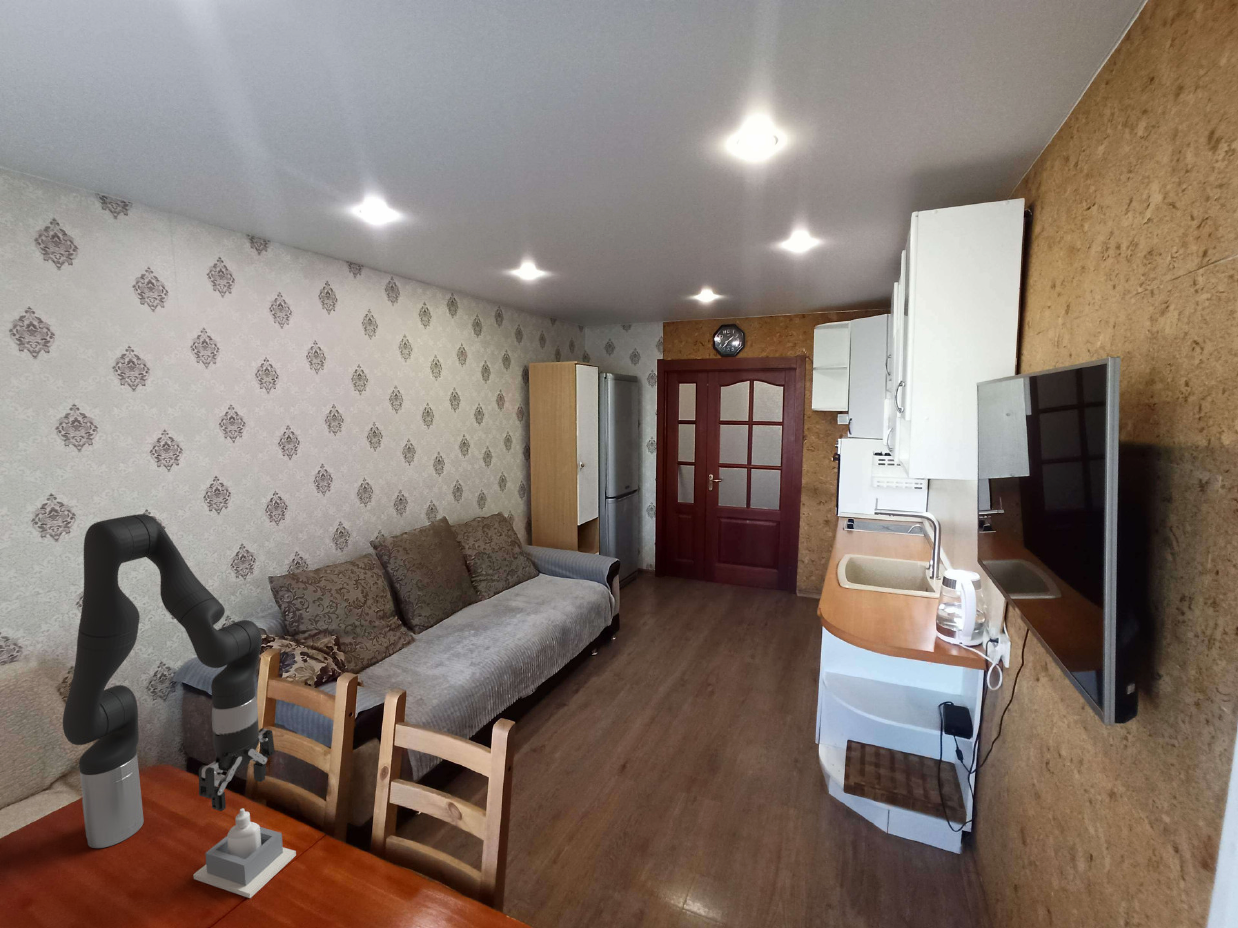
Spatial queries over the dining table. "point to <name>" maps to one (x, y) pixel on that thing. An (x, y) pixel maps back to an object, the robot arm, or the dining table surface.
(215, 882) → the socket
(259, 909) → the dining table surface
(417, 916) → the dining table surface
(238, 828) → the eye dropper bottle
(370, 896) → the dining table surface
